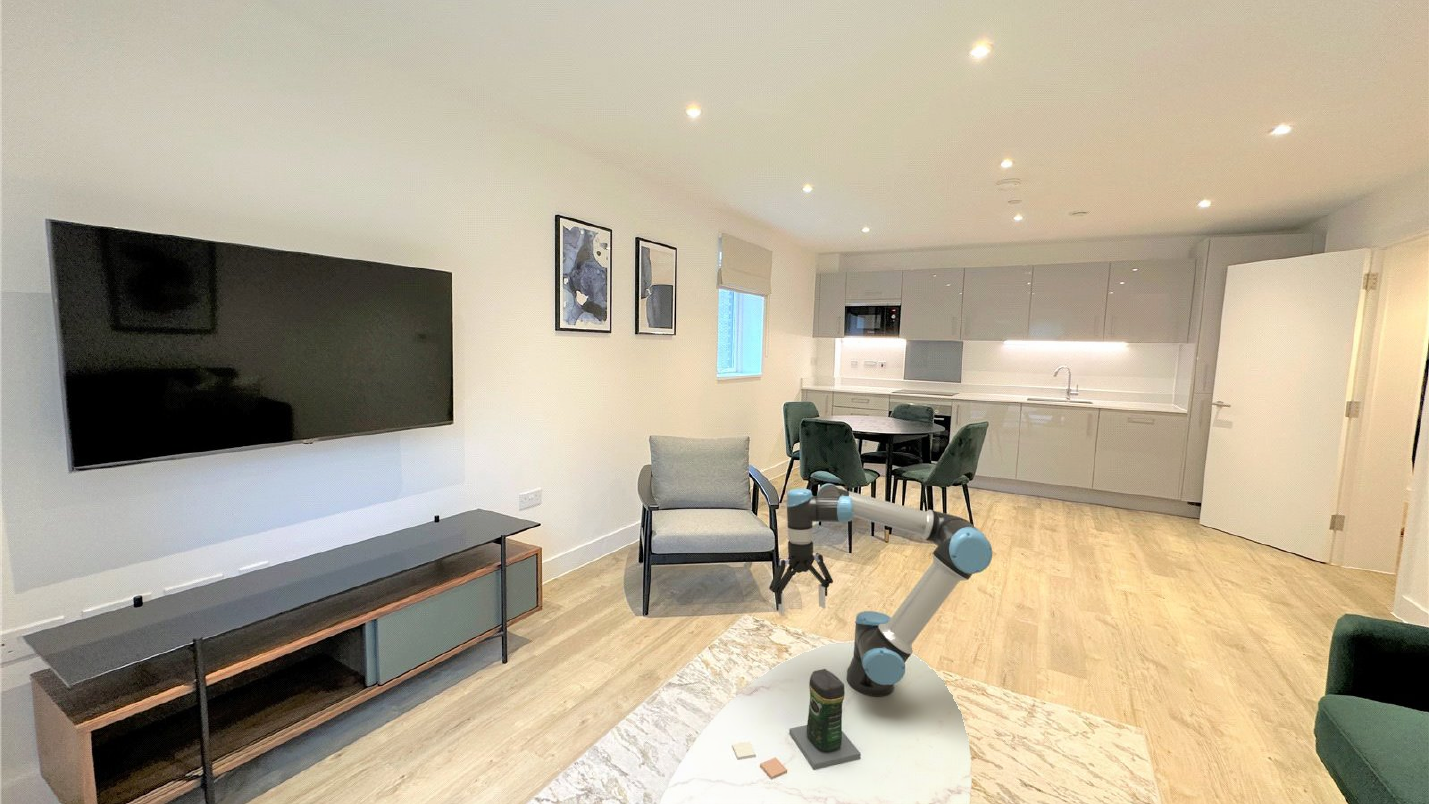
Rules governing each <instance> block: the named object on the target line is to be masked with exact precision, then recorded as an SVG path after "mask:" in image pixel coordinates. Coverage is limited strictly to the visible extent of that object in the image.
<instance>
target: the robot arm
mask: <svg viewBox="0 0 1429 804" xmlns="http://www.w3.org/2000/svg"><path fill="white" fill-rule="evenodd" d="M854 518H856V519H857V518H858V519H860V520H863V521H867V522H870V523H871V522H872V523H874V524H875V523H876V524H878V525H882V526H885V527H886V526H887V527H889V528H894V529H896V530H900V531H904V532H907V533H910V534H914V535H918V536H920V537H921V539H922V540H924V541H928V542H931V543H933V544H935V545H937V547H936V548H935V549H934V550H933V552H932V554H931V555H932V559H933V560H932V562H931V564H930V565H929V566H928V568H927V569H926V570H925V572H924V573H923V574H922V576H921V577H920V579H919V580H918V581H917V582H916V584H915V585H914V587H913V588H912V589H911V591H910V592H909V594H908V595H907V596H906V597H905V599H904V600H903V602H901V604H900V605H899V607H898V608H897V609H896V610H895V612H894V614H893V615H892V616H889V615H887V614H885V613H883V612H878V611H874V610H873V611H872V610H871V611H870V610H865V611H860V612H858V613H857V614H856V617H855V621H854V622H855V625H854V626H855V627H854V628H855V629H854V642H853V643H854V645H853V656H852V659H851V661H850V664H849V666H848V668H847V669H846V682H847V683H848V684H849V686H850V687H851V688H852V689H854V690H855V691H857V692H858V693H861V694H864V695H867V696H871V697H884V696H887V695H890V694H891V693H892V692H893V691H894V690H895V684H897V683H899V682H900V681H901V680H902V679H903V678H904V676H905V673H906V662H907V661H908V659H909V658H910V657H911V655H912V654H913V652H914V651H913V643H914V642H915V640H916V639H917V638H918V636H919V635H920V633H922V632H923V630H924V629H925V627H926V626H927V625H928V623H929V622H930V621H931V619H932V618H933V617H934V615H935V614H936V613H937V611H938V610H939V609H940V608H941V606H942V605H943V604H944V602H945V601H946V600H947V598H948V597H949V596H950V594H952V592H953V590H954V589H955V588H956V587H957V585H958V584H959V583H960V582H962V581H969V579H970V578H971V577H972V575H973V574H978V573H979V574H980V573H981V572H984V571H985V570H986V569H987V568H988V567H989V566H990V564H991V561H992V559H993V548H992V545H991V542H990V541H989V540H988V538H987V536H986V535H985V534H984V533H983V532H981V530H979V529H978V528H977V527H975V526H974V525H973V524H972V523H971V522H970V521H968V520H967V519H965V518H963V517H961V516H957V515H953V514H949V513H945V512H941V511H936V510H933V509H928V510H926V511H924V510H920V509H917V508H913V507H909V506H906V505H901V504H899V503H898V504H897V503H893V502H891V501H888V500H883V499H880V498H875V497H872V496H867V495H865V494H861V493H857V492H854V491H851V490H850V491H849V490H846V489H842V488H839V487H838V486H837V485H835V484H833V483H825V484H823V485H821V486H820V487H819V488H818V490H817V494H816V495H813V493H812V490H810V489H807V488H792V489H790V490H788V491H787V494H786V519H787V522H786V523H787V540H788V541H787V555H788V558H786V559H785V558H784V559H783V558H781V557H780V558H778V562H777V568H776V570H775V573H774V575H773V578H772V580H771V583H770V585H769V587H768V588H769V589H768V590H770V591H771V592H772V593H775V602H776V603H777V605H778V613H779V614H780V616H785V615H786V613H785V612H786V610H785V609H786V608H785V593H784V592H783V591H784V589H785V588H786V587H787V586H788V584H789V582H790V581H791V580H792V578H793V576H795V575H796V573H798V574H801V573H803V572H804V573H807V572H808V571H809V572H810V573H811V574H812V575H813V576H814V577H815V578H816V579H817V581H818V582H819V584H818V587H817V588H818V606H819V607H820V608H822V609H826V597H828V588H829V587H830V584H833V583H834V580H833V577H832V576H831V573H830V572H829V569H828V568H827V566H826V564H825V562H824V556H823V555H822V554H821V553H819V552H816V553H815V554H814V542H813V540H814V530H813V529H814V527H813V525H814V524H813V522H814V523H815V522H819V523H820V522H823V523H824V522H827V523H829V522H830V523H834V522H835V523H845V522H852V520H853V519H854ZM814 562H816V564H817V565H818V567H819V569H820V571H821V573H822V575H821V574H820V572H818V571H817V569H816V568H815V567H814V566H813V564H814ZM787 566H788V567H787ZM786 567H787V568H786ZM785 569H786V572H785ZM784 572H785V573H784Z"/></svg>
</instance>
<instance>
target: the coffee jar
mask: <svg viewBox="0 0 1429 804" xmlns="http://www.w3.org/2000/svg"><path fill="white" fill-rule="evenodd" d="M808 687H809V705H808V716H807V724H806V725H807V736H808V737H809V739H810V740H811V742H812V743H813V744H814V745H815V746H816V747H817V748H818V749H819V750H821V751H834V750H836V749H838V748H839V747H840V746H841V742H842V731H843V730H842V729H843V728H842V727H843V726H842V725H843V721H842V720H843V718H842V717H843V702H844V699H845V696H846V693H845V684H844V682H843V681H842V680H841V679H840V678H839V677H838V676H837V675H835V674H834V673H833V672H831V671H829V670H827V669H826V668H823V669H818V670H817V669H816V670H814V671H813V672H812V673H811V674H810V678H809V686H808Z"/></svg>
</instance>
